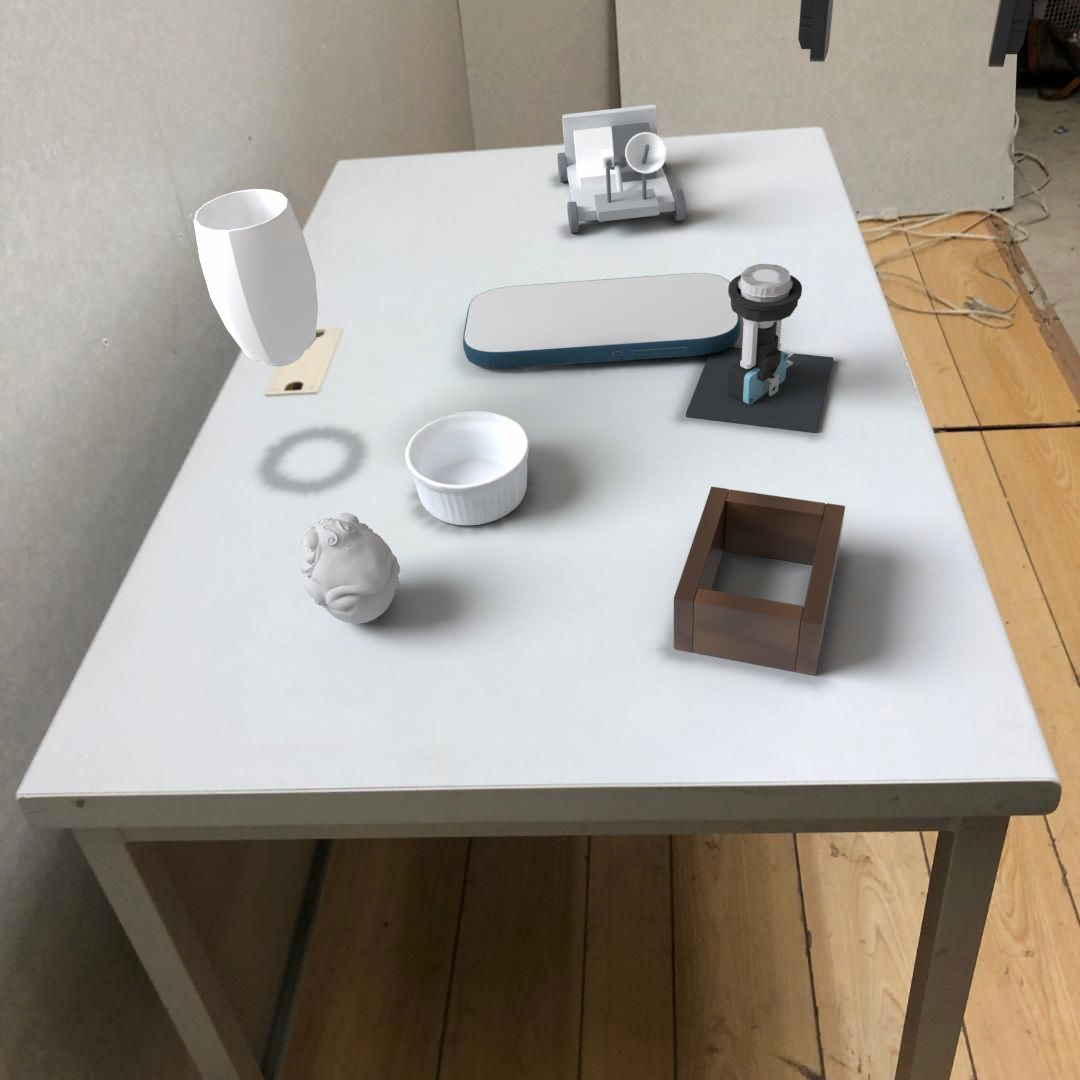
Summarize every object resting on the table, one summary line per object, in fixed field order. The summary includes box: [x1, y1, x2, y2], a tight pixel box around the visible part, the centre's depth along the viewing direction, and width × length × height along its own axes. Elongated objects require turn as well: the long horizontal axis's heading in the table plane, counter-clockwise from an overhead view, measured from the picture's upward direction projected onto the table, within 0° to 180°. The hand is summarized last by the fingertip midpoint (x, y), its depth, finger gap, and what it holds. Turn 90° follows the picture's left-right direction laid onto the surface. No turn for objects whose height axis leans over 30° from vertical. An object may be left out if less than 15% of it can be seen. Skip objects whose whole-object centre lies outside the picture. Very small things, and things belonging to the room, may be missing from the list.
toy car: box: [556, 103, 686, 234], centre depth 108 cm, size 18×10×12 cm
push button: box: [728, 263, 803, 405], centre depth 81 cm, size 7×5×10 cm
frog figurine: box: [298, 512, 401, 624], centre depth 68 cm, size 6×7×7 cm
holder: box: [673, 486, 846, 676], centre depth 66 cm, size 9×11×4 cm
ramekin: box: [404, 410, 530, 526], centre depth 77 cm, size 9×9×4 cm
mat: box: [685, 346, 834, 434], centre depth 85 cm, size 10×10×1 cm
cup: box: [193, 188, 319, 367], centre depth 76 cm, size 7×7×21 cm
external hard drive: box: [462, 272, 741, 369], centre depth 92 cm, size 24×12×2 cm, turn 88°
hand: (906, 59), depth 53 cm, fingers open, 8 cm apart
